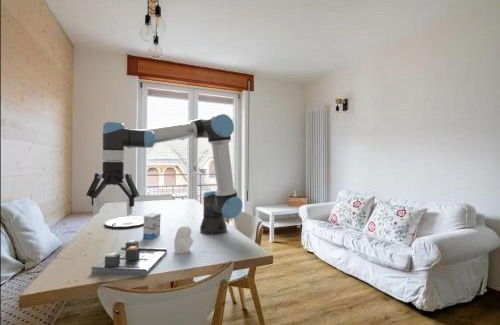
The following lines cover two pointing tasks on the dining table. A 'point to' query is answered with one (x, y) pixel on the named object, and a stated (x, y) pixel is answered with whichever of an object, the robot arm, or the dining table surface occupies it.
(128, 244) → the block
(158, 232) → the ink box
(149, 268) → the panel
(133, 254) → the breaker
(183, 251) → the figurine
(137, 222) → the plate
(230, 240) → the dining table surface
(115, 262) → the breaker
